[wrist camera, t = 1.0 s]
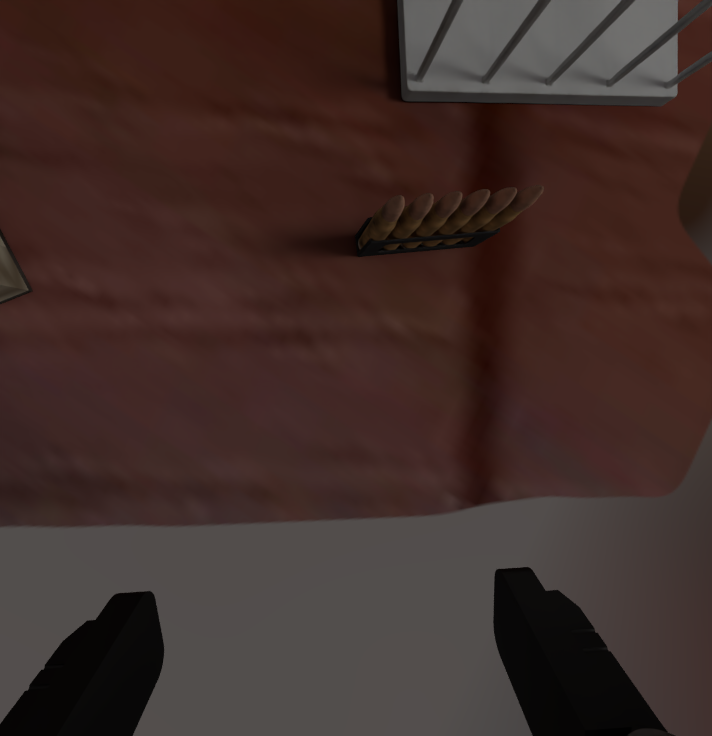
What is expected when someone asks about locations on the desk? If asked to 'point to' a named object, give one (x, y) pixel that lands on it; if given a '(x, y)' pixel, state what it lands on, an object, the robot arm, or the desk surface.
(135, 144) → the desk surface
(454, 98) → the file sorter
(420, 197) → the ammunition clip
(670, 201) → the desk surface
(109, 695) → the robot arm
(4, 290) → the socket block
